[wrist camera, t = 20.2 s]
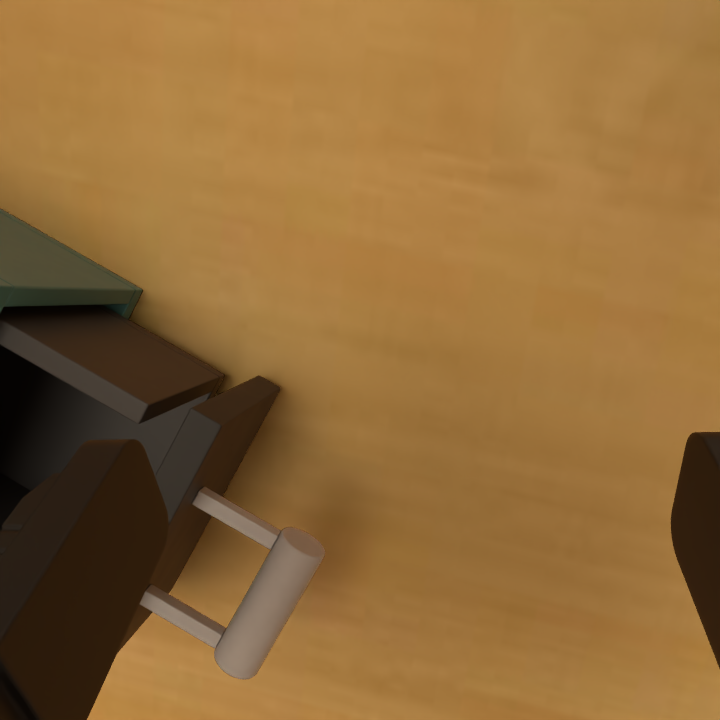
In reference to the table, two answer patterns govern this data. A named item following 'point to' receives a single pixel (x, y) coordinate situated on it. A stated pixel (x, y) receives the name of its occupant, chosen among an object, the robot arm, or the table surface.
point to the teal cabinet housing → (55, 273)
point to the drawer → (149, 453)
